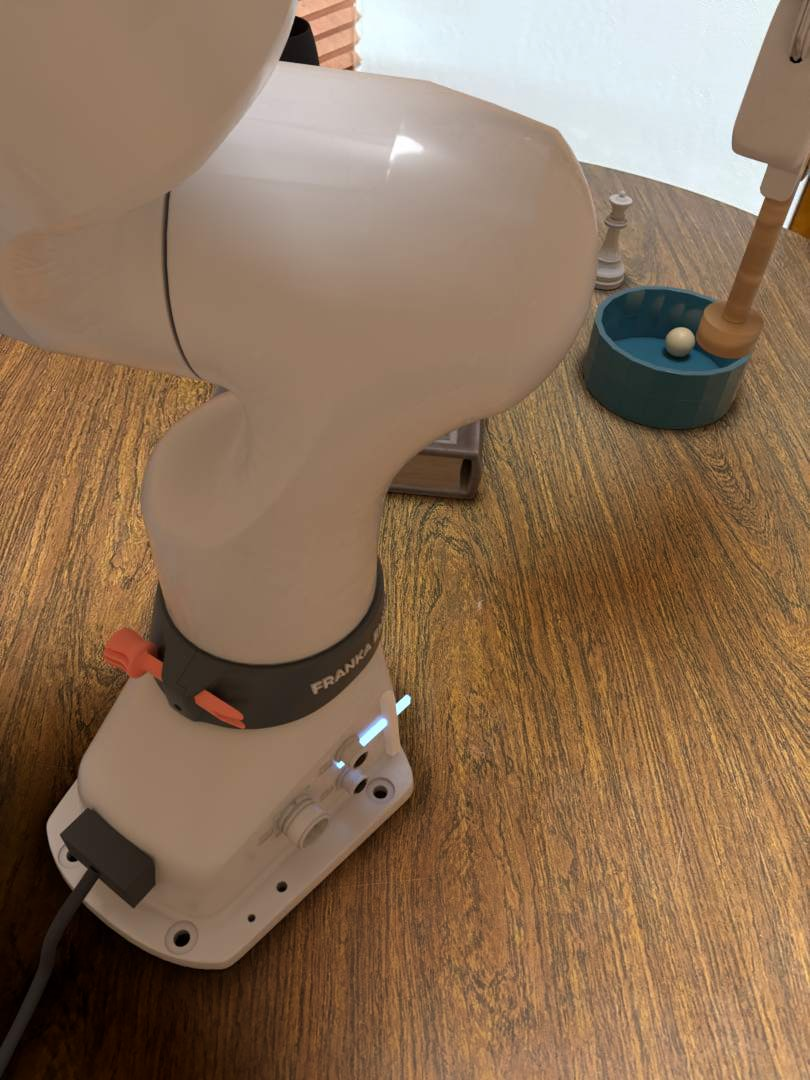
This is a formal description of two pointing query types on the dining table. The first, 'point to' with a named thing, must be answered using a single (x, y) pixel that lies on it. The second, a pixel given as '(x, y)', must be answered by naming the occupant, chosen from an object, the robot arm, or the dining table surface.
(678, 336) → the beige ball
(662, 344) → the bowl
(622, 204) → the chess piece
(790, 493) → the dining table surface
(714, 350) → the wooden peg stand
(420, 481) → the book
